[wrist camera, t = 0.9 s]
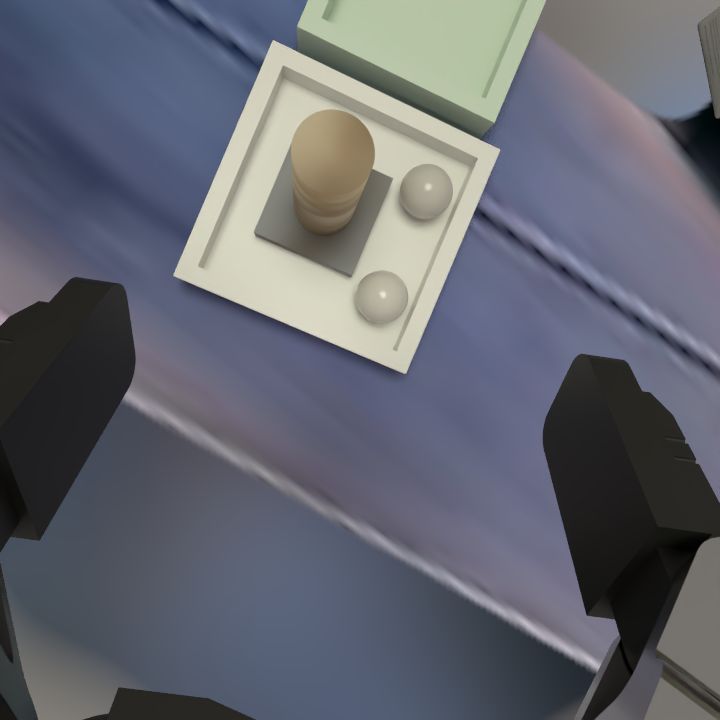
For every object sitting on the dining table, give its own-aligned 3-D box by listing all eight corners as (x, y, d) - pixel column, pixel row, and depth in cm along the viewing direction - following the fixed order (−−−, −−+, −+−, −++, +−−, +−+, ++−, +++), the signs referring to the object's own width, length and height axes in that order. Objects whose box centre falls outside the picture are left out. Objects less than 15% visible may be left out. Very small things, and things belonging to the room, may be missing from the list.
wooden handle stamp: (255, 235, 32) (234, 189, 22) (295, 140, 32) (293, 50, 22) (350, 277, 33) (372, 250, 23) (390, 184, 33) (429, 116, 23)
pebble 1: (345, 312, 33) (349, 309, 30) (364, 265, 33) (371, 258, 30) (391, 332, 34) (400, 331, 31) (410, 285, 34) (421, 280, 31)
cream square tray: (182, 280, 33) (173, 275, 31) (275, 62, 33) (273, 40, 31) (398, 371, 35) (405, 374, 32) (486, 163, 35) (500, 149, 32)
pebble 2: (387, 211, 33) (396, 198, 30) (407, 164, 33) (417, 147, 30) (433, 232, 34) (446, 221, 31) (452, 185, 34) (467, 170, 31)
